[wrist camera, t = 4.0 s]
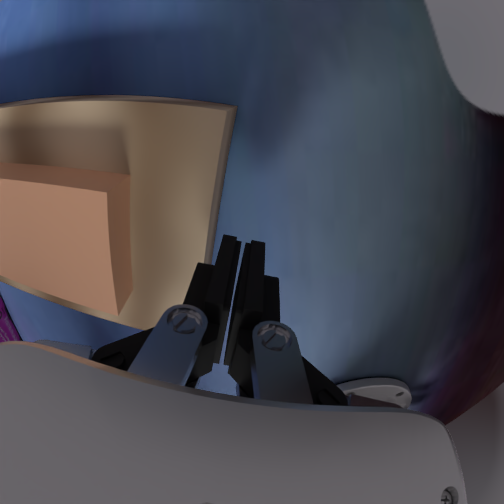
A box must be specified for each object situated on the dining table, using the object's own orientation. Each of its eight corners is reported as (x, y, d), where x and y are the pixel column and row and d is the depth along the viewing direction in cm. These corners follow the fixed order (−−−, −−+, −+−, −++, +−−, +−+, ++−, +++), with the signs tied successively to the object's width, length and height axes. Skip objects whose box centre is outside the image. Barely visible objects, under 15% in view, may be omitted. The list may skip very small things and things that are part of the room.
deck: (237, 106, 12) (227, 110, 9) (206, 301, 19) (195, 342, 16) (-11, 105, 11) (-46, 117, 8) (6, 249, 18) (-18, 272, 15)
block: (130, 174, 11) (107, 192, 9) (133, 289, 14) (118, 316, 12) (-4, 162, 10) (-28, 175, 8) (13, 254, 13) (-5, 272, 12)
